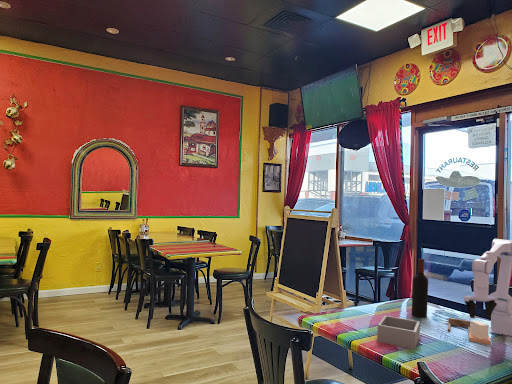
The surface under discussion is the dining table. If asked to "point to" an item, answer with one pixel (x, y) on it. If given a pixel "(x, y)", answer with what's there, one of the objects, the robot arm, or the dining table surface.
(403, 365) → the dining table surface
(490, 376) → the dining table surface
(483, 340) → the tile
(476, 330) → the block
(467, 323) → the frame
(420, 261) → the wine bottle
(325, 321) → the dining table surface
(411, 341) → the box
